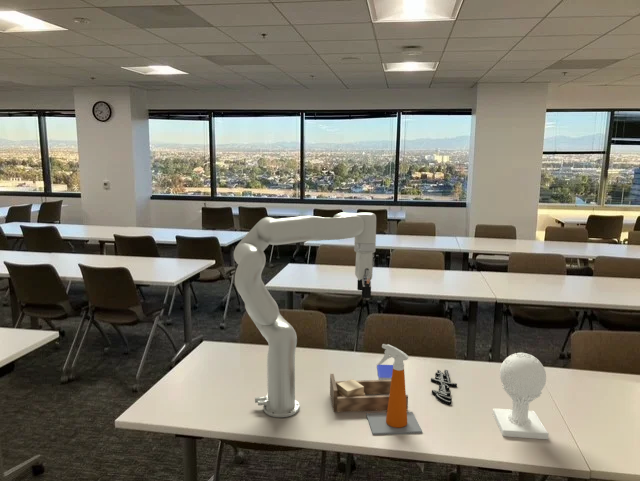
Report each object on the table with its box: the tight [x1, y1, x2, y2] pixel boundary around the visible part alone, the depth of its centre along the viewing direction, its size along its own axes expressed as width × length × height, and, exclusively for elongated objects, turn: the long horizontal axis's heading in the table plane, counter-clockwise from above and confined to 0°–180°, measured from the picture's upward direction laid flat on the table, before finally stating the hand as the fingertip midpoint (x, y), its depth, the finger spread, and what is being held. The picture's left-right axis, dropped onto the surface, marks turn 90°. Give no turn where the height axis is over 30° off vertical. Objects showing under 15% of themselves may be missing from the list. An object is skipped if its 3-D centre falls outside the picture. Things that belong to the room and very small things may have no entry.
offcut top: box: [337, 378, 364, 397], centre depth 168 cm, size 7×7×2 cm
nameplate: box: [430, 369, 458, 406], centre depth 182 cm, size 27×2×10 cm
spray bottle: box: [376, 343, 410, 428], centre depth 154 cm, size 7×11×26 cm, turn 68°
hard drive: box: [376, 364, 393, 380], centre depth 193 cm, size 2×8×12 cm
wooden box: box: [329, 373, 409, 413], centre depth 170 cm, size 26×13×8 cm, turn 94°
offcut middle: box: [337, 390, 366, 397], centre depth 169 cm, size 8×7×2 cm
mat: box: [365, 411, 423, 436], centre depth 156 cm, size 16×12×1 cm
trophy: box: [492, 352, 549, 440], centre depth 153 cm, size 14×14×25 cm
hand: (363, 293), depth 171 cm, fingers open, 9 cm apart
